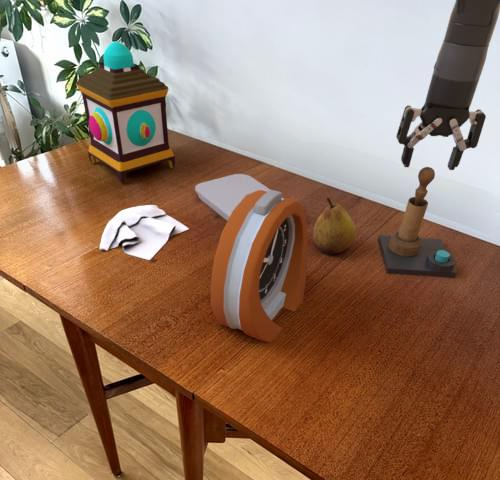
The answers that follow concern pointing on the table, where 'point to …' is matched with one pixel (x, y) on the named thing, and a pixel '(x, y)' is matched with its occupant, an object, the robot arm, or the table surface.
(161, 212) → the cloth
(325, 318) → the table surface
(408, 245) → the mortar and pestle
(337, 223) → the fruit
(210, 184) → the tablet
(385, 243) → the kitchen scale
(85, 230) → the table surface
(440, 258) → the button
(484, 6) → the robot arm
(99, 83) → the decorative lantern
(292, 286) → the alarm clock
